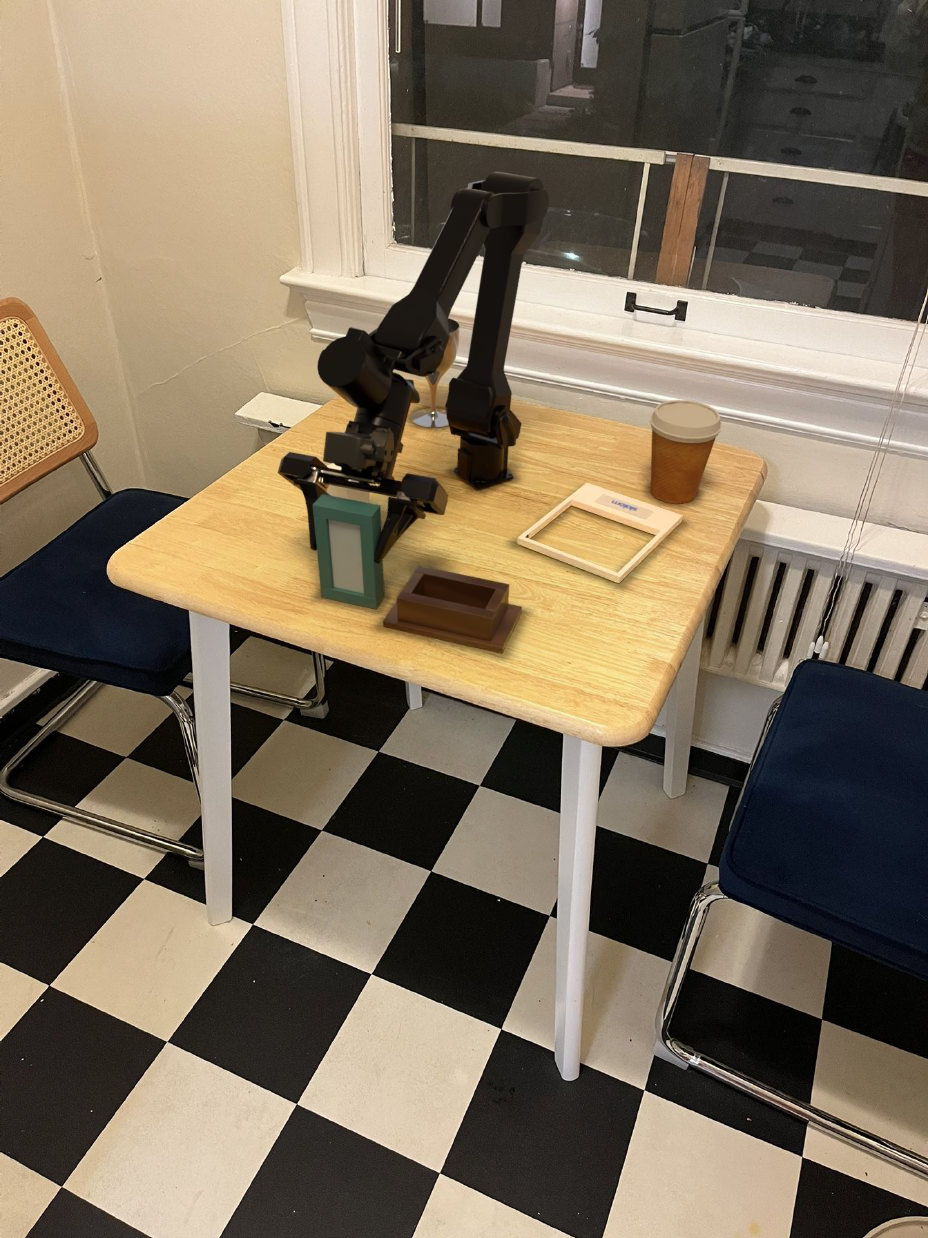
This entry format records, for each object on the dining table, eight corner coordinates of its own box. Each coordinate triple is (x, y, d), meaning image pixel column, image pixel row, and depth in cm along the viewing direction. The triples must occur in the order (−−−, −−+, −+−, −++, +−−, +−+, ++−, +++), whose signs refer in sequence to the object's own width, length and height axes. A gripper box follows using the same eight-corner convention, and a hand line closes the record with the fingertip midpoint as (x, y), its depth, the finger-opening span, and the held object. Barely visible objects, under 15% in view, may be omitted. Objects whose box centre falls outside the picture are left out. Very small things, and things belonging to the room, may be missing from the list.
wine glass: (403, 426, 143) (401, 332, 134) (414, 405, 149) (412, 314, 140) (453, 430, 142) (454, 336, 133) (461, 409, 148) (463, 318, 139)
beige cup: (364, 534, 118) (362, 486, 113) (314, 527, 119) (309, 480, 114) (379, 507, 123) (377, 461, 119) (330, 501, 124) (326, 455, 120)
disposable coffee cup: (705, 479, 131) (721, 401, 124) (708, 513, 123) (726, 432, 116) (639, 473, 132) (651, 395, 125) (638, 506, 125) (650, 425, 117)
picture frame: (330, 585, 108) (322, 493, 101) (384, 597, 107) (380, 505, 99) (321, 597, 106) (312, 504, 99) (376, 609, 105) (371, 516, 97)
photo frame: (683, 514, 121) (620, 575, 109) (681, 521, 121) (618, 583, 110) (586, 481, 127) (517, 536, 115) (586, 488, 128) (517, 543, 116)
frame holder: (408, 587, 108) (408, 559, 106) (521, 611, 105) (523, 583, 102) (383, 626, 102) (381, 598, 100) (502, 653, 99) (503, 624, 96)
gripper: (276, 383, 98) (238, 522, 96) (439, 410, 93) (402, 556, 91) (314, 421, 108) (280, 547, 107) (462, 447, 104) (429, 578, 102)
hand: (344, 556), depth 101 cm, fingers open, 7 cm apart
